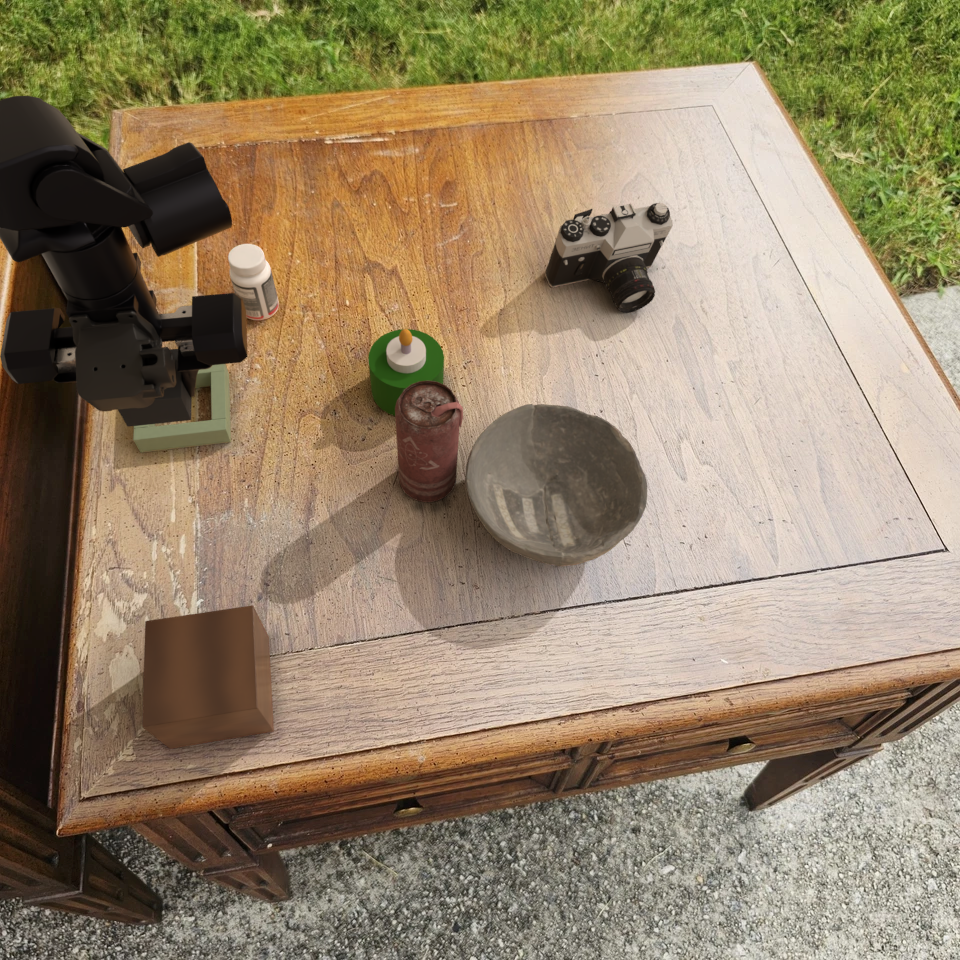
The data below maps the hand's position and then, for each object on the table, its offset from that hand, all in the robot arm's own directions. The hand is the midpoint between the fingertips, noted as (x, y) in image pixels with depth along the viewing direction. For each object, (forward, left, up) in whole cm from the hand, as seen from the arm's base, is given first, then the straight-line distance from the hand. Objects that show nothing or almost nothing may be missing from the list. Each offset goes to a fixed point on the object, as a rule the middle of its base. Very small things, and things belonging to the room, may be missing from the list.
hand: (159, 396), depth 73 cm
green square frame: (+3, +7, -13) cm, 15 cm away
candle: (+24, -6, -13) cm, 28 cm away
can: (+18, -17, -13) cm, 28 cm away
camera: (+54, -10, -13) cm, 57 cm away
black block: (0, 0, 0) cm, 0 cm away
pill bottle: (+18, +15, -13) cm, 27 cm away
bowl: (+25, -28, -13) cm, 40 cm away
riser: (-11, -22, -13) cm, 28 cm away
